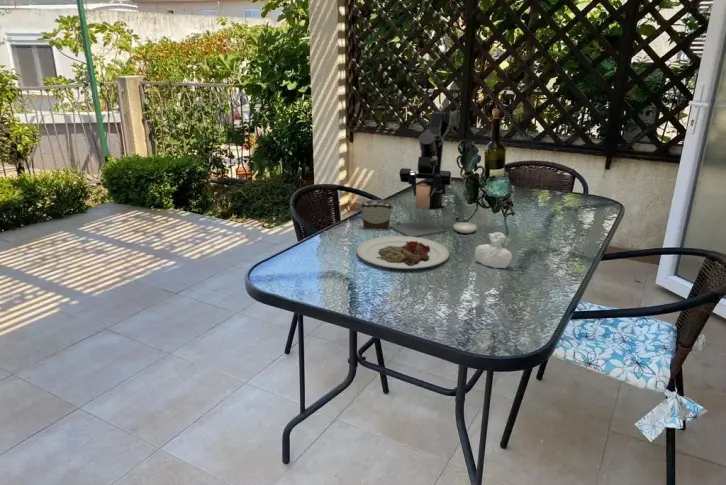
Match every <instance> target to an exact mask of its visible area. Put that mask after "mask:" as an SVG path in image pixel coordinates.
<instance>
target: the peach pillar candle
mask: <svg viewBox="0 0 726 485" xmlns="http://www.w3.org/2000/svg"><path fill="white" fill-rule="evenodd" d="M430 187H431V186H429V185H426V184H425V183H424V182H423V183H420V184H416V196H415V202H414V203H415V204H414V207H415V209H418V210H427V209H430V208H429V205H430V197H429V195H430Z"/></svg>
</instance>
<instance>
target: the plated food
mask: <svg viewBox="0 0 726 485" xmlns="http://www.w3.org/2000/svg"><path fill="white" fill-rule="evenodd" d="M356 254H357V255H358V257H359V258H360V259H362V260H363V261H364V262H367V263H369V264H371V265H372V264H373V265H375V266H378V267H384V268H392V269H401V270H402V269H403V270H404V269H406V270H408V269H411V270H412V269H416V270H417V269H423V268H425V269H426V268H430V267H434V266H437V265H440V264H441V263H444V262H445V261H446V260H447V259H448V258H449V256H450V252H449V249H448V248H447V247H446V246H444V245H443V244H441V243H439V242H437V241H434V240H432V239H428V238H423V237H410V236H405V235H389V236H388V235H387V236H381V237H380V236H379V237H375V238H371V239H368V240H366V241H363V242H362V243H360V244H359V245H358V246H357V247H356Z"/></svg>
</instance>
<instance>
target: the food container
mask: <svg viewBox="0 0 726 485" xmlns="http://www.w3.org/2000/svg"><path fill="white" fill-rule="evenodd" d="M360 203H361V204H360V206H359V208H360V209H361V217H362V224H363V226H362V227H363V230H381V231H389V228H390V222H391V215H392V210H394V207H393V203H392V202H390V201H388V200H383V199H368V200H364V201H362V202H360Z"/></svg>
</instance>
